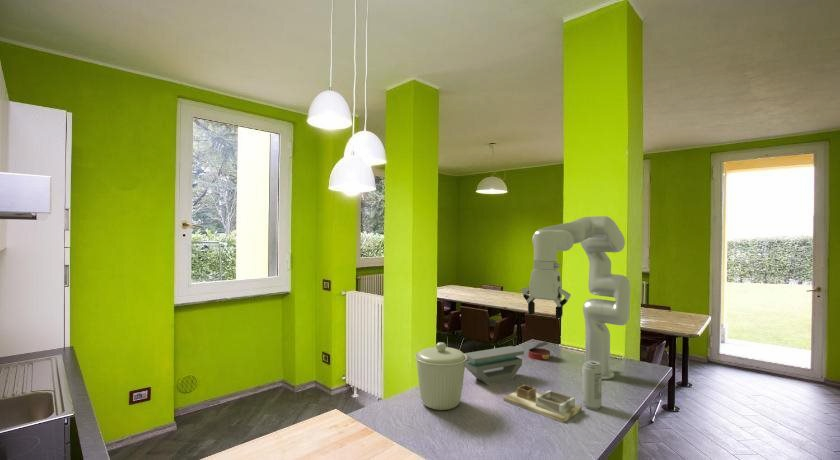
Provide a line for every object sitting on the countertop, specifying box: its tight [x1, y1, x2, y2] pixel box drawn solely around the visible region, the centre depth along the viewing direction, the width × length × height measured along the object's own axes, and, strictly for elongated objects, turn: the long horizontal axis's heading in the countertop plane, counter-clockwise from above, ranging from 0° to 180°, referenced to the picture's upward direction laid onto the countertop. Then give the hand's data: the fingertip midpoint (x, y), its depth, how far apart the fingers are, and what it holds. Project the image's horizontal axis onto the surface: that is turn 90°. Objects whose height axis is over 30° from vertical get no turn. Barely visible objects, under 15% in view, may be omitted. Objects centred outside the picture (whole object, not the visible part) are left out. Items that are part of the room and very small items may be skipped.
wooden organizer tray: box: [503, 384, 583, 424], centre depth 136 cm, size 13×22×4 cm, turn 43°
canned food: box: [528, 341, 551, 361], centre depth 190 cm, size 11×10×10 cm
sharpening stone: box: [463, 345, 525, 386], centre depth 161 cm, size 25×8×11 cm, turn 118°
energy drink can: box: [581, 360, 603, 411], centre depth 136 cm, size 6×6×15 cm
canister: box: [414, 341, 468, 411], centre depth 137 cm, size 18×18×21 cm
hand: (544, 316), depth 136 cm, fingers open, 9 cm apart
